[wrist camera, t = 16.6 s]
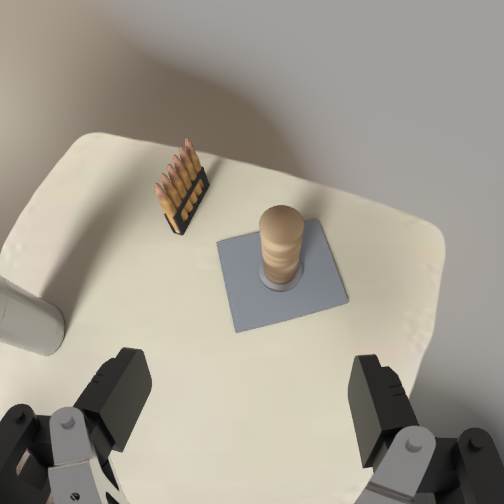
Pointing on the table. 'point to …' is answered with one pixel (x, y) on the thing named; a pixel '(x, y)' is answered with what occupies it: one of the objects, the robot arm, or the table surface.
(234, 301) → the slate mat
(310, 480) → the table surface
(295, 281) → the tan ribbed cylinder
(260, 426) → the table surface
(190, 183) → the ammunition clip
